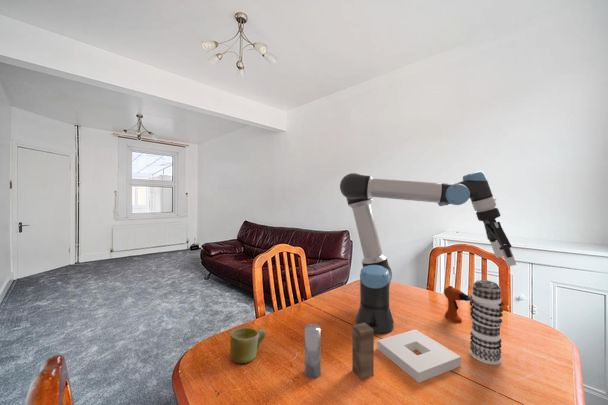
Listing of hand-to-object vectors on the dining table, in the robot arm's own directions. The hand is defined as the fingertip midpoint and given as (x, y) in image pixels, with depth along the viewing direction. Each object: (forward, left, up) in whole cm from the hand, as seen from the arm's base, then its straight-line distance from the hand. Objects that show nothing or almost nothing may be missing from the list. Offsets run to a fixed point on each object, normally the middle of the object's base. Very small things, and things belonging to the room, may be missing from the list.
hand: (505, 260), depth 101 cm
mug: (-26, -96, -28) cm, 103 cm away
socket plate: (-2, -45, -28) cm, 53 cm away
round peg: (-9, -80, -28) cm, 85 cm away
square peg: (-3, -66, -28) cm, 71 cm away
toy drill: (-11, -11, -28) cm, 32 cm away
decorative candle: (+7, -24, -28) cm, 37 cm away
